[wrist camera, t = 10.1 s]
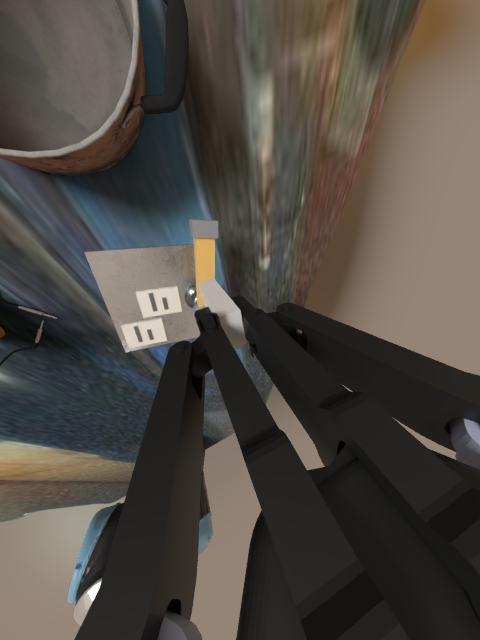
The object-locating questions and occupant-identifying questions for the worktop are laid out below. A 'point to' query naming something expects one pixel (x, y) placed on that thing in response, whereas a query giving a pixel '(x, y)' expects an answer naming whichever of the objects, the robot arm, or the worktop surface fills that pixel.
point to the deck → (147, 286)
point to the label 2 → (144, 333)
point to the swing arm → (203, 253)
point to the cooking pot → (80, 81)
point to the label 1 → (159, 301)
